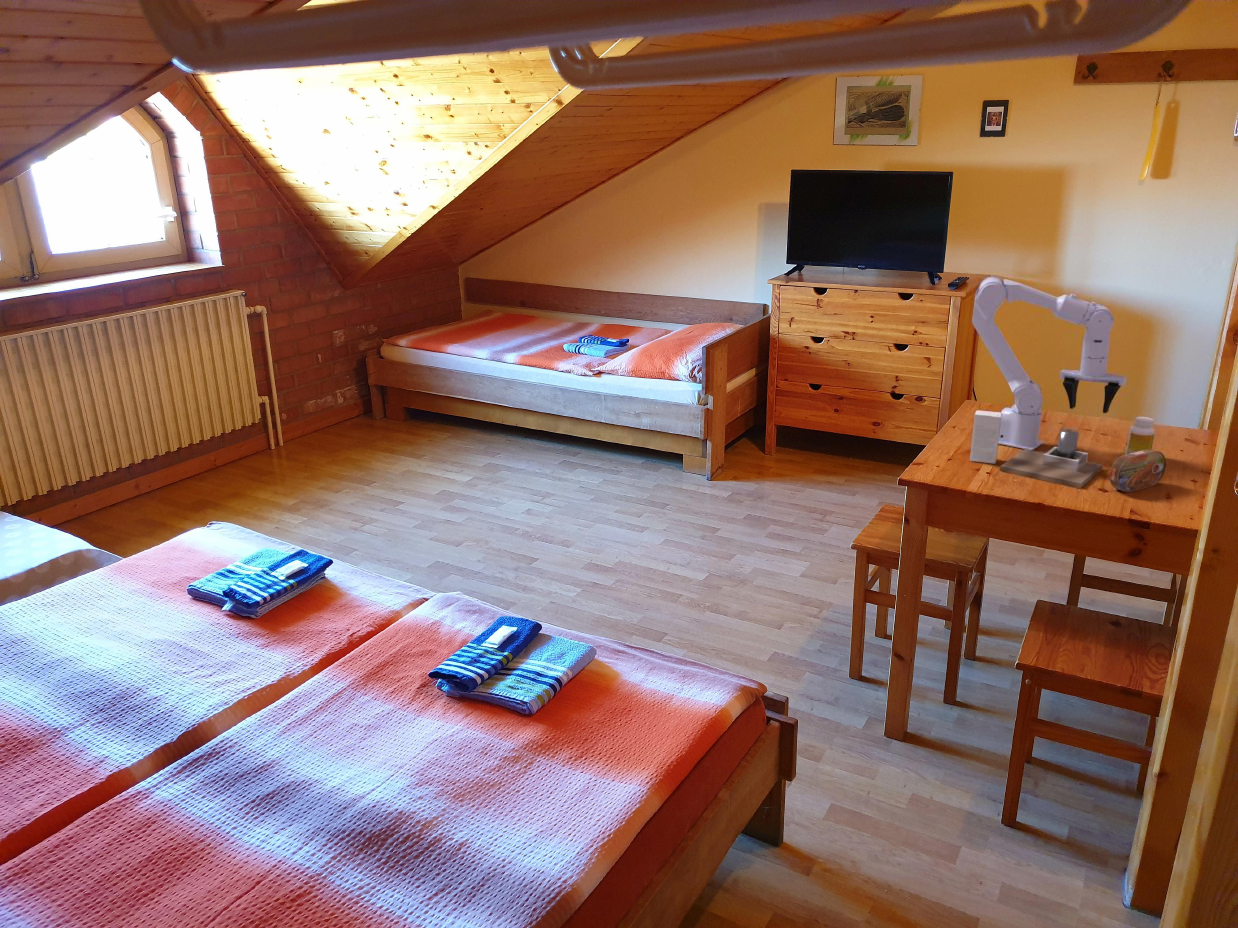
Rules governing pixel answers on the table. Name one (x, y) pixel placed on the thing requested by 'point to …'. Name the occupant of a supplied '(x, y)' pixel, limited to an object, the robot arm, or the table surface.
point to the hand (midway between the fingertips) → (1088, 410)
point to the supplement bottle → (1140, 435)
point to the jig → (1053, 467)
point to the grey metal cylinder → (1067, 443)
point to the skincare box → (985, 436)
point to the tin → (1137, 470)
